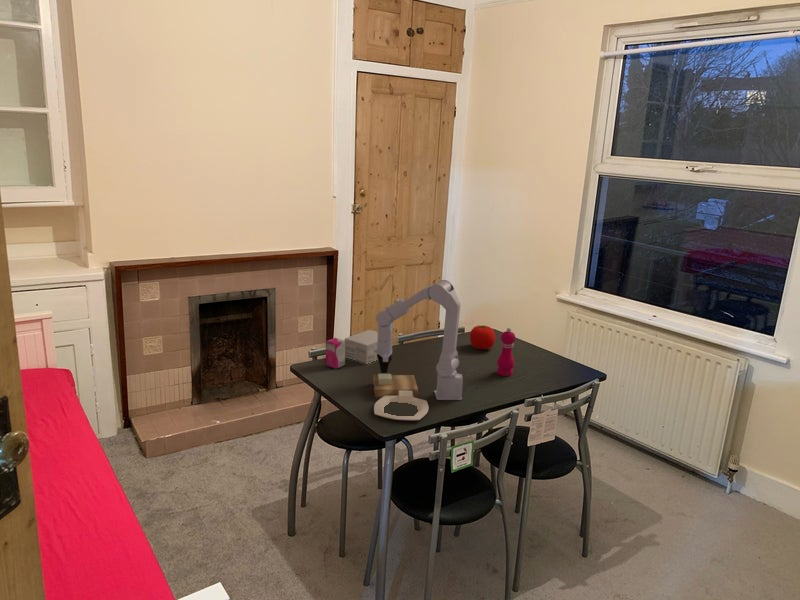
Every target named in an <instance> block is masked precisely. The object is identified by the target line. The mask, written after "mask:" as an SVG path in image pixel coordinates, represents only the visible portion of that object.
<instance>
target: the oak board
mask: <svg viewBox="0 0 800 600" xmlns="http://www.w3.org/2000/svg"><path fill="white" fill-rule="evenodd" d="M391 376H392V385H379V384H378V374H373V376H372V377H373V378H372V379H373V380H372V384H373V385H374V387H373V393H375V395H374V398H375V397H384V396H388V395H393V396H399V390H401V391H413V397H414V398H418V397H419V389H418V387H419V386H418V385H417V381H416V377H415V375H414V374H413V375H412V374H404V375H403V374H391ZM373 385H372V386H373ZM418 399H419V398H418Z"/></svg>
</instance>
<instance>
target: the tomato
mask: <svg viewBox="0 0 800 600" xmlns="http://www.w3.org/2000/svg"><path fill="white" fill-rule="evenodd" d="M469 342H470V344H471V346H472V347H473V348H475V349H476V350H477V349H478V350H489V349H491V348H493V347H494V345H495V343H496V333H495V331H494V330H493V328H492V327H490V326H487V325H475V326H474V327H473V328H472V329H471V330H470V333H469Z"/></svg>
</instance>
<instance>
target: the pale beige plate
mask: <svg viewBox="0 0 800 600" xmlns="http://www.w3.org/2000/svg"><path fill="white" fill-rule="evenodd" d="M390 402H398V403H408V404H412V405H415V406H417V409H418V412H417V413H416V414H415V415H414V416H396V415H391V414H388V413H384V407H385V406H386V405H388V404H389V403H390ZM429 408H430V407H429V403H428V401H427V400H426V399H421V398H414V397H413V403H411V402H399V396H393V395H388V396H384V397H382V398H378V400H377V401H376V402H375V403H374V405H373V412H374V415H375V416H379V417H382V418H386V419H391V420H396V421H397V420H398V421H420V420H422V418H424V417H425V416H426V415H427V413H428V412H429Z"/></svg>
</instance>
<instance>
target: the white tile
mask: <svg viewBox="0 0 800 600" xmlns="http://www.w3.org/2000/svg"><path fill="white" fill-rule="evenodd" d="M399 402H411V403H413V391H401V390H399Z"/></svg>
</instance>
